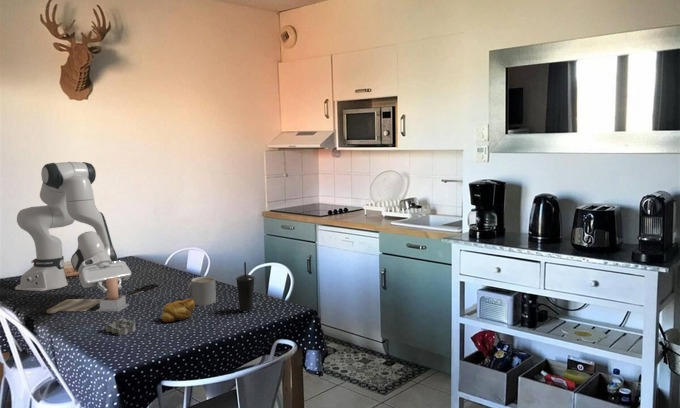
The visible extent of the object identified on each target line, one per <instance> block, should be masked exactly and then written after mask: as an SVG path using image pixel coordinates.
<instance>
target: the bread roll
mask: <svg viewBox="0 0 680 408" xmlns="http://www.w3.org/2000/svg"><path fill="white" fill-rule="evenodd" d="M195 306H196V305H194V301H193V299H192V297H189V298H185V299H183V300H176V301H173V302H169V303H166V304H165V306H164V307H163V309H162V312H163V313H162V314H161V320H162V321H163V322H165V323H172V322H173V323H174V322H175V321H184V320H187V319H189V318H190V317H191V315H192V312H193V310H194V309H195Z"/></svg>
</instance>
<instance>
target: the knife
mask: <svg viewBox="0 0 680 408" xmlns="http://www.w3.org/2000/svg"><path fill="white" fill-rule="evenodd" d="M158 287H159V284H156V283H154V284H153V283H151V284H146V285H142V287H140V288H138V287H136V288H135V289H136V290H133V291H130V292H126V295H127V296H128V295H129V296H130V295H138V294H141V293H143V292H144V293H145V292H147V291H149V290H153V289H156V288H158Z"/></svg>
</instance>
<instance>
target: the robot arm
mask: <svg viewBox="0 0 680 408" xmlns="http://www.w3.org/2000/svg"><path fill="white" fill-rule="evenodd" d="M96 176H97V174H96V168H95V167H94V165H93V164H92V163H89V162H87V161H85V162H80V161H79V162H78V161H65V162H64V161H63V162H61V161H60V162H50V163H46V164H44V165H43V167H42V168H41V180H42V184H41V189H40V192H39V198H40V200H41V201H42V202H43V203H44V204H45V205H40V206H30V207H27V208H22V209H20V210H19V212H18V213H17V215H16V223H17V225H18V227H19V228H20V229H22V230H23V231H25V232H27V233H28V234H29V235H30V237H31V238H32V240H33V242H34V247H35V255H36V258H34V259H33V260H31V261H30V263H31V264H32V265H33V266H32V267H30V268H28V270H26V271H25V272H24V273H23V274H22V275H21V277H20V283H18V285H16V286H15V288H14V290H19V291H31V292H32V291H33V292H44V291H49V290H50V291H51V290H55V289H61V288H64V287H66V286H68V285H69V283H68V280H67V278H66V274H65V259H64V258H65V257H64V255H63V243H62V240H61V238H59V237H57V236H55V235H52V234H51V233H50V229H56V228H58V229H59V228H64V227H67V226H70V225H72V224H74V222H75V221H76V222H78V223H82V224H85V225H88V226H90V227H92V228H93V229H94V230H95V231H84V232H82V233H81V234H79V235H78V236H77V248H76V250H75V251H74V253H73V254H72V256H71V258H70V263H71V266H72V268H73V269H74V271H76V273H78V279H79V282H80V284H81V287H82V288H84V289H86V288H92V287H95V286H96V287H97V288H98V289H100V290H101V291H102V293H103V294H106V293H107V292H108V289H107V287H106V286H104V285H106V279H107V278H113V277H116V278H117V280H118V291H120V290H122V289H123V288H122V287H123V286H122V285H121V284H122V281H127V280H130V278H131V276H132V271H131V270H130V267H129V266H128V265H127V262H126V261H124V260H121V259H120V260H119V259H118V256H117V253H116V250H115V248H114V245H113V241H112V238H111V236H110V231H109V227H108V224H107V221H106V218H105V215H104V214H103V212H102V211H99V209H98V208H97V206H96V204H95V197H94V191H93V187H92V184H94V182H95V180H96V178H97V177H96Z"/></svg>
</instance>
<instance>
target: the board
mask: <svg viewBox="0 0 680 408" xmlns="http://www.w3.org/2000/svg"><path fill="white" fill-rule="evenodd" d="M101 299H102V298H101ZM101 299H99V298H98V299H97V298H96V299H91V298H89V299H88V298H85V299H82V298H80V299H79V298H77V299H76V298H72V299H71V298H70V299H69V298H67V299H65V300H64V301H61V302H60V303H58V304H56V305H53V306H52V307H49V308H48V309H46V314H56V313H57V312H87V311H88V310H90V309H91V308H93V307H95V306H96V305H98V304H100V300H101Z"/></svg>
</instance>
